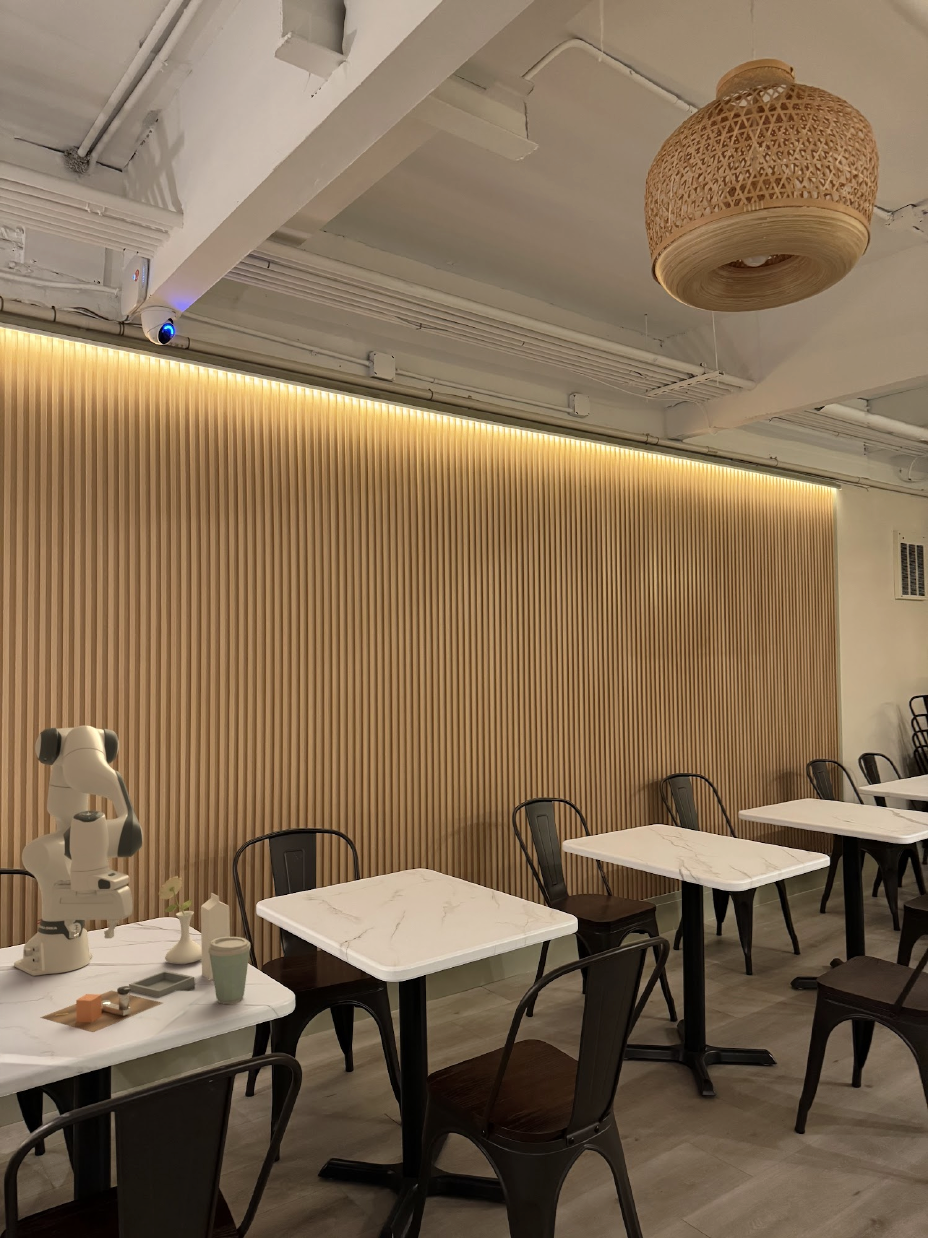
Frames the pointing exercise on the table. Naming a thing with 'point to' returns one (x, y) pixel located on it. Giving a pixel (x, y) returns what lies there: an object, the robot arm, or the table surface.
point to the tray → (163, 984)
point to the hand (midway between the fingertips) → (91, 938)
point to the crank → (123, 1002)
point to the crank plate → (107, 1018)
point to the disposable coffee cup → (229, 967)
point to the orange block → (88, 1008)
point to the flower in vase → (185, 947)
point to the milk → (212, 929)
